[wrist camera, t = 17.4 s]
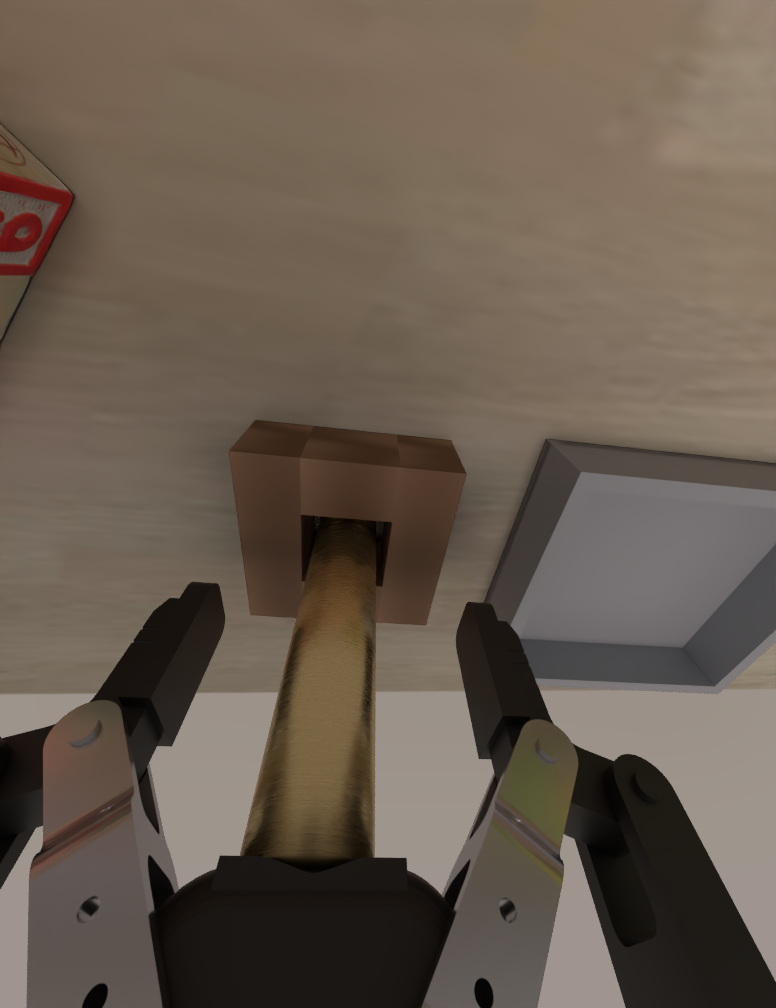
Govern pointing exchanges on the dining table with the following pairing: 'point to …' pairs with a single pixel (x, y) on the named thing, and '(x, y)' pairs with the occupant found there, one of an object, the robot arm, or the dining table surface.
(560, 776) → the robot arm
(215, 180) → the dining table surface
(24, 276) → the stack of blocks
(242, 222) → the dining table surface
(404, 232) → the dining table surface
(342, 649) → the pin
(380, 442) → the pin base
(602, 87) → the dining table surface
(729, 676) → the pin tray
